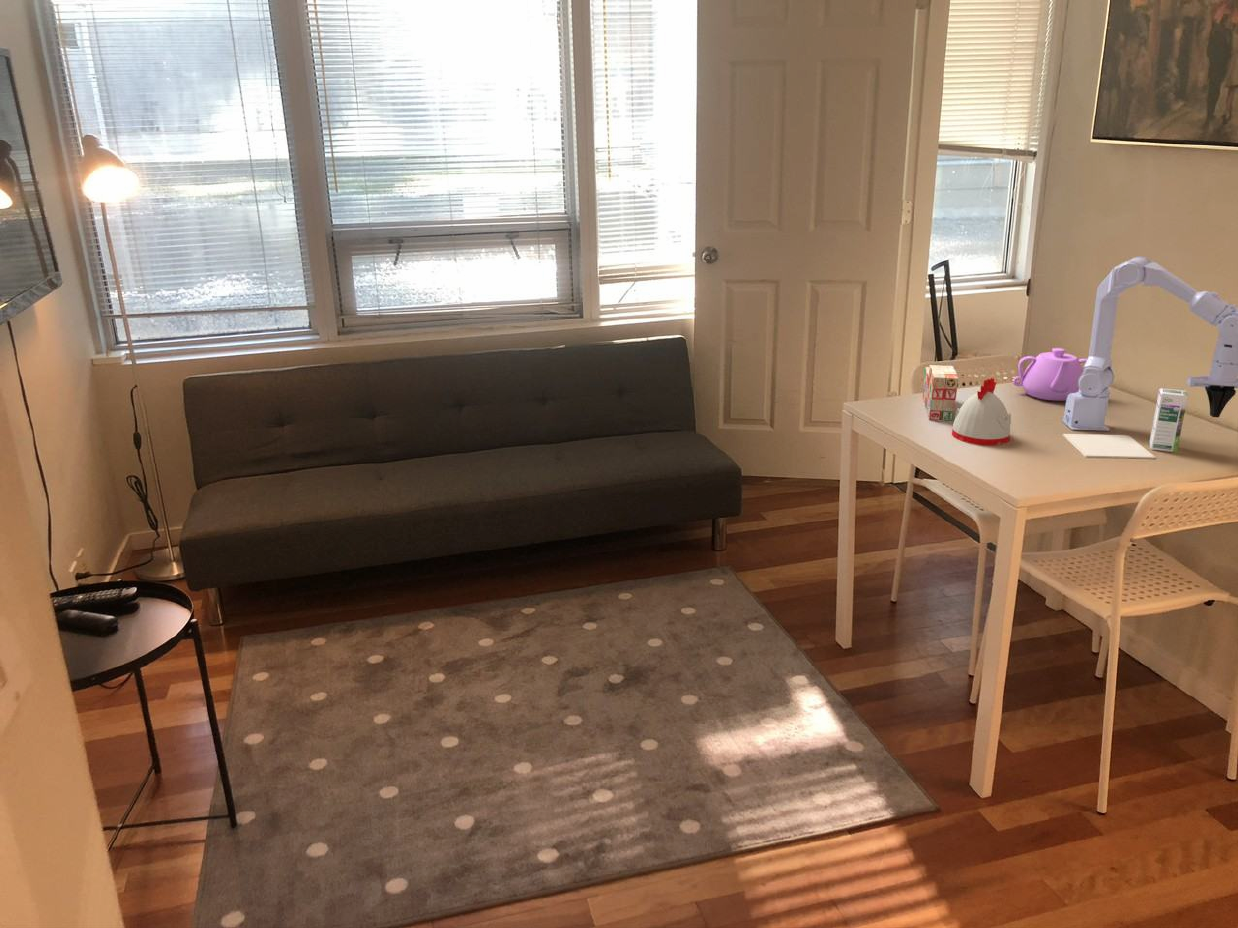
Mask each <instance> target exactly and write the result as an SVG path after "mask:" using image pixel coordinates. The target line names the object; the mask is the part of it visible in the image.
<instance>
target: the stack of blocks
mask: <svg viewBox="0 0 1238 928" xmlns="http://www.w3.org/2000/svg"><path fill="white" fill-rule="evenodd" d="M923 379H924V380H923V388H922V390H923V392H922V400H923V403H924V404H925V405H924V407H925V410H926V412H927V413H926V415H927V414H928V415H927V418H929V419H928V421H933V420H944V421H943V422H952V421H953V420H954V416H955V406H956V399H957V393H958V392H957V391H958V386H959V385H958V384H959V377H958V374H957V372H956V370H955V369H954V366H953V365H941V364H940V365H938V364H937V365H936V364H935V365H934V364H929V366H927V367H924V374H923ZM953 422H954V421H953Z"/></svg>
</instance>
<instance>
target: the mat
mask: <svg viewBox="0 0 1238 928" xmlns="http://www.w3.org/2000/svg"><path fill="white" fill-rule="evenodd" d="M1062 436H1063V437H1064V438H1065V439H1066V440H1067V441H1068V442H1069V443H1070V444H1072V446H1074V448H1075V449H1077V450H1078V451H1079V452H1080V453H1081V455H1082V456H1084V457H1085V458H1114V459H1117V458H1118V459H1148V460H1149V459H1156V456H1155V455H1154V454H1152V453H1151V452H1150V451H1149V450H1147V448H1145V447H1144V446H1142V444H1140V443H1139V442H1137V441H1136V440H1135V439H1134V438H1132V436H1130V435H1127V434H1093V433H1092V434H1090V433H1089V434H1086V433H1085V434H1084V433H1082V434H1081V433H1080V434H1079V433H1063V434H1062Z"/></svg>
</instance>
